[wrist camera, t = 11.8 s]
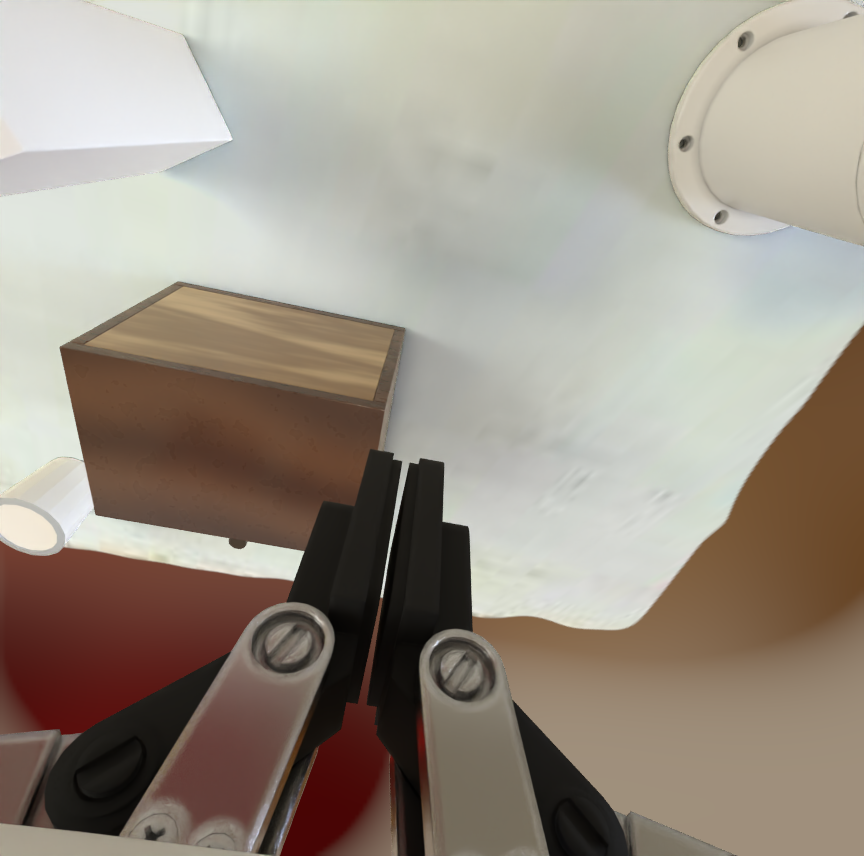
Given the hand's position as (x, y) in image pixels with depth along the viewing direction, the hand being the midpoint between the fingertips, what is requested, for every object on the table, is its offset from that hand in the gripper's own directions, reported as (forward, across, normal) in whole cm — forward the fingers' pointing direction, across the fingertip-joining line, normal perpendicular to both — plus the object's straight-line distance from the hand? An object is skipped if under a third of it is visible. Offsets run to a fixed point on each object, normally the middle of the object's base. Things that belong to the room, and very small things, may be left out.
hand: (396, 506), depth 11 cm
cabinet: (+29, +10, +12) cm, 33 cm away
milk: (+29, +19, -5) cm, 35 cm away
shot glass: (+29, +31, +29) cm, 52 cm away
